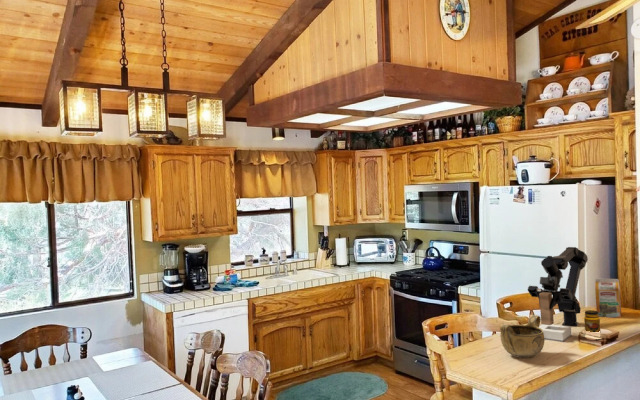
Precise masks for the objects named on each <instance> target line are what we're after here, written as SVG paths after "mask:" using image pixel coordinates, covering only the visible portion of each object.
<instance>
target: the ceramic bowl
mask: <svg viewBox="0 0 640 400" xmlns="http://www.w3.org/2000/svg"><path fill="white" fill-rule="evenodd" d="M539 326H541V315H537V314H531V315H529V318H528V320H527V323H526V324H507V323H501V324H500V327H499V330H500V336H499V337H500V341H501V342H500V343H501V345H502V347H503V348H504V350H505V351H506V352H507V353H508V354H510V355H512V356H514V357H517V358H521V359H528V358H533V357H535V356H537V355H538V354H540V352H542V350H543V348H544V345H545V339H544V333H543V330H542V329H541V328H539Z"/></svg>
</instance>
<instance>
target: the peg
mask: <svg viewBox="0 0 640 400" xmlns="http://www.w3.org/2000/svg"><path fill="white" fill-rule="evenodd" d="M552 297H553V295H552V293H548V292H542V293H540V294H539V298H540V305H539V309H540V325H542V324H544V325H554V324H555V321H554V307H553V308H552V309H550V308H549V307H550V303H551V300H552ZM539 298H538V299H539Z"/></svg>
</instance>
